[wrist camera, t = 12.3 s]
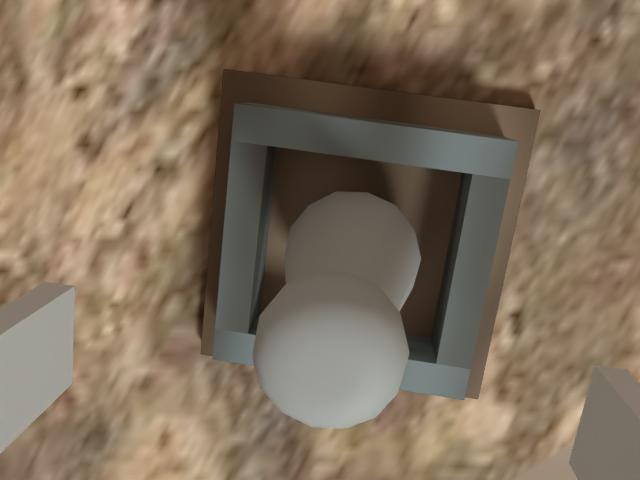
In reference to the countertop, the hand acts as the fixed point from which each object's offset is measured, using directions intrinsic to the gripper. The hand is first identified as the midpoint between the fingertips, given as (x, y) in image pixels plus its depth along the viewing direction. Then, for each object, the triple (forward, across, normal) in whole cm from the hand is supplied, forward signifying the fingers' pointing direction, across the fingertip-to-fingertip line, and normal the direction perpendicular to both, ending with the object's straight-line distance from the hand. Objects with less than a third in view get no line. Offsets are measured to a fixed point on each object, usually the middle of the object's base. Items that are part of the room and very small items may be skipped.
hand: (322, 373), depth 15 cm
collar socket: (+14, 0, 0) cm, 14 cm away
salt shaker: (+14, 0, 0) cm, 14 cm away
